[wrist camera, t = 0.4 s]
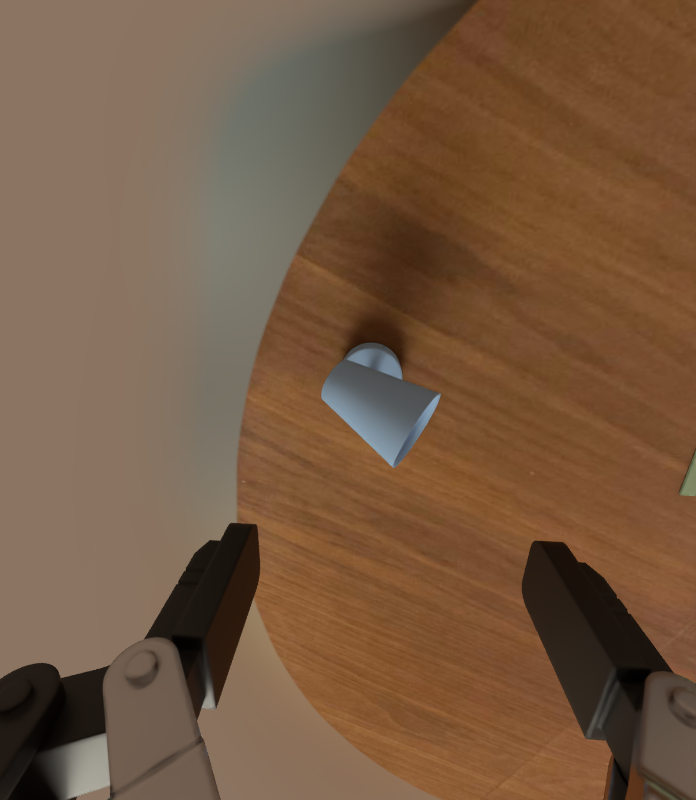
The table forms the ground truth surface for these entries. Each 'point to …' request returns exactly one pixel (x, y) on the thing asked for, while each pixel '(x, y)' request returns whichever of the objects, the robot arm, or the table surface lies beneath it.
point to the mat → (690, 480)
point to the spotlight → (379, 400)
